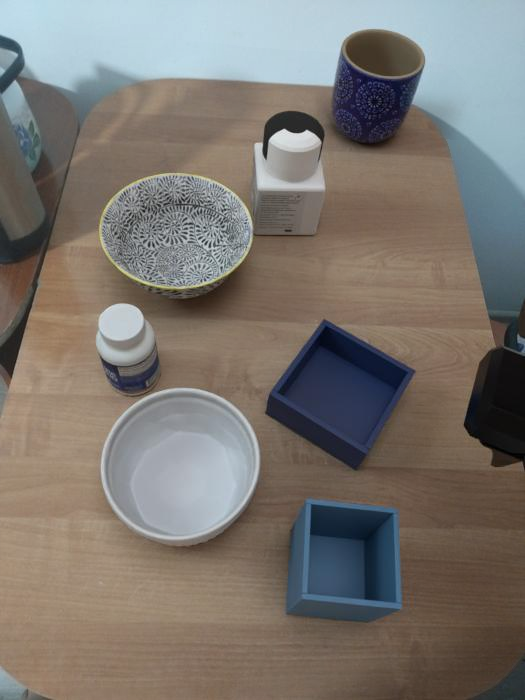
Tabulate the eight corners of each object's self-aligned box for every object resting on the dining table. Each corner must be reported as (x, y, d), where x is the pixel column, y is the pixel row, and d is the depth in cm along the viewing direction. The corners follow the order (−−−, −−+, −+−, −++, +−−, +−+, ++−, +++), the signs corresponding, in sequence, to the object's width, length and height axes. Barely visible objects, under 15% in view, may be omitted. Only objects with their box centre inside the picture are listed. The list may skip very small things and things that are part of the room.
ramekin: (106, 431, 54) (92, 400, 48) (239, 406, 56) (242, 374, 50) (121, 573, 48) (107, 558, 42) (270, 539, 50) (278, 519, 44)
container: (250, 190, 72) (257, 100, 61) (309, 191, 73) (327, 102, 62) (253, 235, 68) (261, 148, 57) (315, 236, 69) (335, 150, 58)
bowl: (275, 260, 66) (282, 215, 60) (194, 354, 59) (192, 314, 53) (169, 201, 70) (164, 152, 64) (80, 282, 63) (65, 236, 56)
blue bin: (367, 537, 51) (398, 508, 42) (367, 622, 47) (402, 609, 39) (290, 529, 51) (306, 498, 42) (285, 614, 47) (301, 599, 38)
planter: (315, 108, 82) (328, 32, 72) (382, 99, 84) (404, 24, 75) (342, 158, 77) (360, 83, 67) (413, 147, 79) (441, 73, 69)
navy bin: (402, 391, 59) (416, 370, 55) (356, 470, 54) (367, 454, 50) (317, 341, 61) (324, 318, 57) (265, 413, 56) (268, 393, 52)
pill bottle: (102, 359, 58) (83, 304, 50) (153, 345, 59) (143, 290, 51) (114, 404, 56) (96, 354, 47) (167, 388, 57) (159, 338, 48)
